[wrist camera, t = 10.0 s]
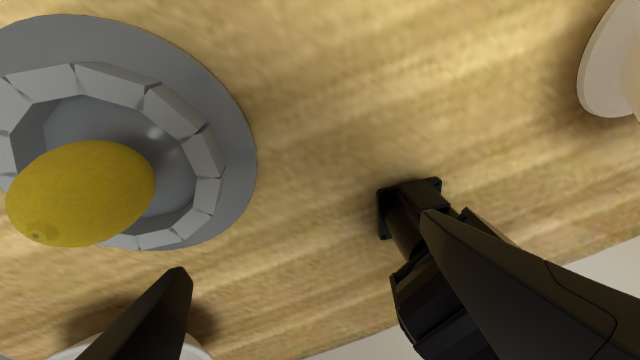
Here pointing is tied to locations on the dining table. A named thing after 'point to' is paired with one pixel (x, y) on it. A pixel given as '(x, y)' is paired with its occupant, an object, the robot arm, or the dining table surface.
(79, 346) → the dish
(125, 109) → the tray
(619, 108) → the decorative vase
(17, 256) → the dining table surface
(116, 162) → the lemon
